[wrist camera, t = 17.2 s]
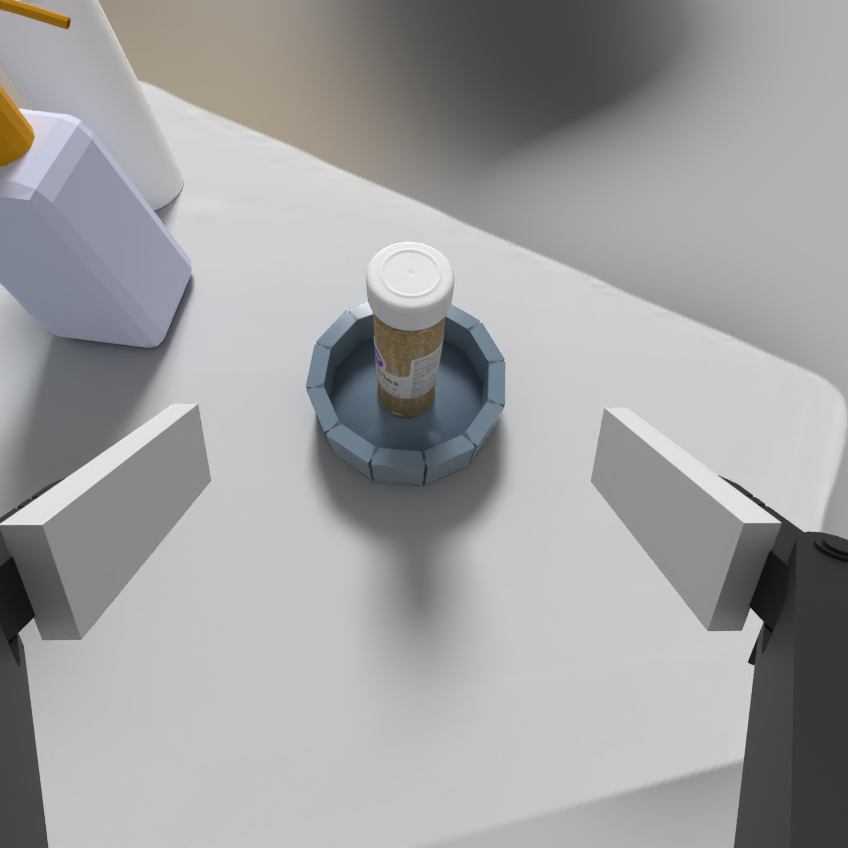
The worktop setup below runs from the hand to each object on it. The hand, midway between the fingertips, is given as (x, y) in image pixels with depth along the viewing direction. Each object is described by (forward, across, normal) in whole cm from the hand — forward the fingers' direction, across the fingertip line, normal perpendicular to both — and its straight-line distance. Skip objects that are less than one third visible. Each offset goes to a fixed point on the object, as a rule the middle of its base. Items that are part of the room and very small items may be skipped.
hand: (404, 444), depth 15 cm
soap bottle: (+27, -21, 0) cm, 35 cm away
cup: (+37, -26, +11) cm, 47 cm away
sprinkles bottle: (+20, 0, -5) cm, 21 cm away
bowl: (+21, 0, -5) cm, 21 cm away
